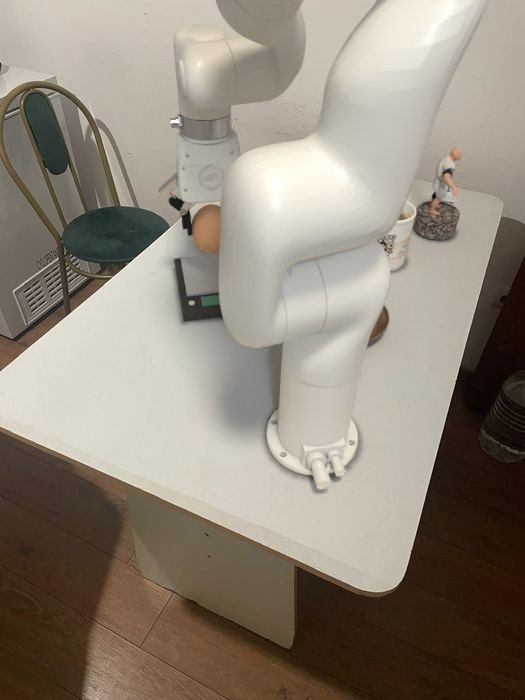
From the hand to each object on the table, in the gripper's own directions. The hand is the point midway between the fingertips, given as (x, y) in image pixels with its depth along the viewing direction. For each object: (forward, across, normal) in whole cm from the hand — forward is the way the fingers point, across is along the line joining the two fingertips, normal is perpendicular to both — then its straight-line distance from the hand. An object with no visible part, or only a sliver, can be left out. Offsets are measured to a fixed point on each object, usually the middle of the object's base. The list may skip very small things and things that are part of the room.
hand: (212, 228), depth 88 cm
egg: (+4, 0, 0) cm, 4 cm away
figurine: (+12, +50, +11) cm, 52 cm away
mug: (+12, +33, +3) cm, 35 cm away
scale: (+12, 0, -2) cm, 12 cm away
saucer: (+12, +20, -16) cm, 28 cm away
